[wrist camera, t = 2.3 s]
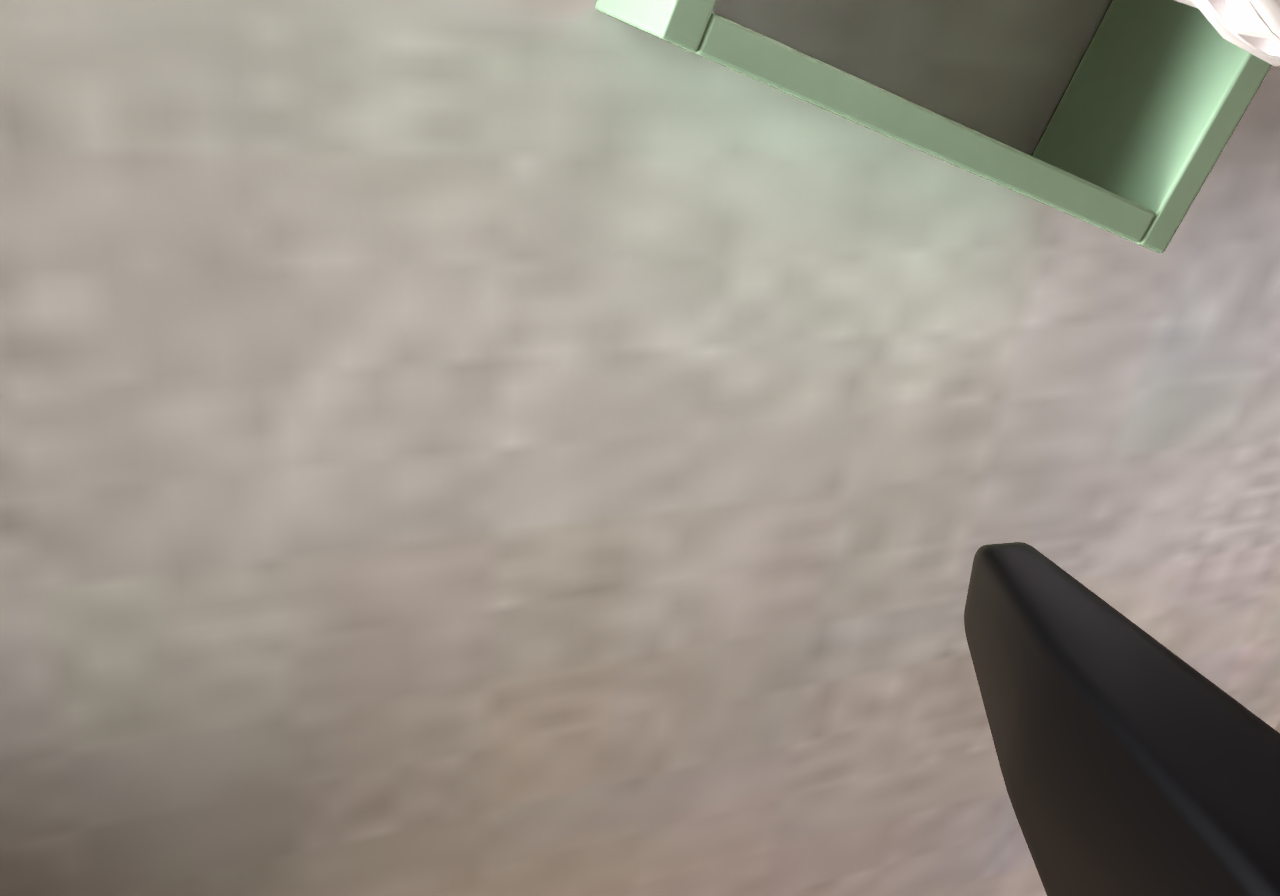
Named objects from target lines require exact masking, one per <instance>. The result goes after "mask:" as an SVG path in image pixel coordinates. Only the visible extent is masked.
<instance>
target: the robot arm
mask: <svg viewBox="0 0 1280 896" xmlns="http://www.w3.org/2000/svg"><path fill="white" fill-rule="evenodd" d="M964 624H965V632H966V638H967V642H968V646H969V649H970V653H971V657H972V661H973V665H974V668H975V672H976V676H977V680H978V684H979V687H980V691H981V695H982V699H983V703H984V707H985V710H986V714H987V718H988V722H989V726H990V729H991V733H992V737H993V741H994V745H995V748H996V752H997V756H998V760H999V764H1000V767H1001V771H1002V774H1003V778H1004V781H1005V785H1006V788H1007V792H1008V795H1009V797H1010V800H1011V803H1012V806H1013V809H1014V811H1015V814H1016V817H1017V819H1018V822H1019V825H1020V827H1021V830H1022V832H1023V835H1024V837H1025V840H1026V842H1027V845H1028V848H1029V850H1030V853H1031V855H1032V858H1033V860H1034V863H1035V865H1036V868H1037V870H1038V873H1039V876H1040V878H1041V881H1042V883H1043V886H1044V888H1045V891H1046V893H1047V896H1280V733H1278V732H1277V731H1276V730H1274V729H1273V728H1272V727H1270V726H1269V725H1268V724H1266V723H1265V722H1264V721H1262V720H1261V719H1260V718H1258V717H1257V716H1256V715H1254V714H1253V713H1252V712H1250V711H1249V710H1248V709H1246V708H1245V707H1244V706H1242V705H1241V704H1240V703H1238V702H1237V701H1236V700H1235V699H1233V698H1232V697H1231V696H1229V695H1228V694H1227V693H1225V692H1224V691H1223V690H1221V689H1220V688H1219V687H1217V686H1216V685H1215V684H1213V683H1212V682H1211V681H1209V680H1208V679H1207V678H1205V677H1204V676H1203V675H1201V674H1200V673H1199V672H1197V671H1196V670H1195V669H1194V668H1192V667H1191V666H1190V665H1188V664H1187V663H1186V662H1184V661H1183V660H1182V659H1180V658H1179V657H1178V656H1176V655H1175V654H1174V653H1172V652H1171V651H1170V650H1168V649H1167V648H1166V647H1164V646H1163V645H1162V644H1160V643H1159V642H1158V641H1156V640H1155V639H1154V638H1152V637H1151V636H1150V635H1149V634H1147V633H1146V632H1145V631H1143V630H1142V629H1141V628H1139V627H1138V626H1137V625H1135V624H1134V623H1133V622H1131V621H1130V620H1129V619H1127V618H1126V617H1125V616H1123V615H1122V614H1121V613H1119V612H1118V611H1117V610H1115V609H1114V608H1113V607H1111V606H1110V605H1109V604H1108V603H1106V602H1105V601H1104V600H1102V599H1101V598H1100V597H1098V596H1097V595H1096V594H1094V593H1093V592H1092V591H1090V590H1089V589H1088V588H1086V587H1085V586H1084V585H1082V584H1081V583H1080V582H1078V581H1077V580H1076V579H1074V578H1073V577H1072V576H1070V575H1069V574H1068V573H1067V572H1065V571H1064V570H1063V569H1061V568H1060V567H1059V566H1057V565H1056V564H1055V563H1053V562H1052V561H1051V560H1049V559H1048V558H1047V557H1045V556H1044V555H1043V554H1041V553H1040V552H1039V551H1037V550H1036V549H1035V548H1033V547H1032V546H1030V545H1028V544H1026V543H1021V542H1015V543H1003V544H991V545H985V546H982V547H980V548H979V549H978V551H977V552H976V554H975V557H974V561H973V567H972V572H971V578H970V583H969V589H968V594H967V600H966V605H965V612H964Z"/></svg>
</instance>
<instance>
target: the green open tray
mask: <svg viewBox="0 0 1280 896" xmlns="http://www.w3.org/2000/svg"><path fill="white" fill-rule="evenodd" d="M716 2H717V0H598V1H597V4H596V9H597V10H598V11H600V12H603V13H605V14H607V15H609V16H612V17H614V18H616V19H618V20H620V21H623V22H625V23H627V24H629V25H632V26H634V27H636V28H638V29H641V30H643V31H645V32H647V33H649V34H652V35H654V36H656V37H658V38H661V39H663V40H665V41H667V42H670V43H672V44H674V45H677V46H679V47H681V48H684V49H686V50H688V51H691V52H693V53H696V54H698V55H700V56H702V57H705V58H707V59H709V60H712V61H714V62H716V63H719V64H721V65H723V66H726V67H728V68H730V69H733V70H735V71H737V72H739V73H742V74H744V75H746V76H749V77H751V78H753V79H756V80H758V81H760V82H763V83H765V84H767V85H770V86H772V87H774V88H777V89H779V90H781V91H784V92H786V93H788V94H791V95H793V96H795V97H798V98H800V99H802V100H805V101H807V102H809V103H812V104H814V105H816V106H818V107H821V108H823V109H825V110H828V111H830V112H832V113H835V114H837V115H839V116H842V117H844V118H846V119H849V120H851V121H853V122H856V123H858V124H860V125H863V126H865V127H867V128H870V129H872V130H874V131H877V132H879V133H881V134H884V135H886V136H888V137H891V138H893V139H895V140H897V141H900V142H902V143H904V144H907V145H909V146H911V147H914V148H916V149H918V150H921V151H923V152H925V153H928V154H930V155H932V156H935V157H937V158H939V159H942V160H944V161H946V162H949V163H951V164H953V165H956V166H958V167H960V168H963V169H965V170H967V171H969V172H972V173H974V174H976V175H979V176H981V177H983V178H986V179H988V180H990V181H993V182H995V183H997V184H1000V185H1002V186H1004V187H1007V188H1009V189H1011V190H1014V191H1016V192H1018V193H1021V194H1023V195H1025V196H1028V197H1030V198H1032V199H1035V200H1037V201H1039V202H1042V203H1044V204H1046V205H1048V206H1051V207H1053V208H1055V209H1058V210H1060V211H1062V212H1065V213H1067V214H1069V215H1072V216H1074V217H1076V218H1079V219H1081V220H1083V221H1086V222H1088V223H1090V224H1093V225H1095V226H1097V227H1100V228H1102V229H1104V230H1107V231H1109V232H1111V233H1114V234H1116V235H1118V236H1120V237H1123V238H1125V239H1127V240H1130V241H1132V242H1134V243H1137V244H1139V245H1141V246H1144V247H1146V248H1148V249H1151V250H1153V251H1155V252H1158V253H1163V252H1164V251H1165V249H1166V248H1167V246H1168V244H1169V242H1170V241H1171V239H1172V237H1173V235H1174V234H1175V232H1176V230H1177V228H1178V227H1179V225H1180V223H1181V222H1182V220H1183V218H1184V216H1185V215H1186V213H1187V211H1188V209H1189V208H1190V206H1191V204H1192V202H1193V201H1194V199H1195V197H1196V196H1197V194H1198V192H1199V190H1200V189H1201V187H1202V185H1203V183H1204V182H1205V180H1206V178H1207V176H1208V175H1209V173H1210V171H1211V170H1212V168H1213V166H1214V164H1215V163H1216V161H1217V159H1218V157H1219V156H1220V154H1221V152H1222V150H1223V149H1224V147H1225V145H1226V144H1227V142H1228V140H1229V138H1230V137H1231V135H1232V133H1233V131H1234V130H1235V128H1236V126H1237V124H1238V123H1239V121H1240V119H1241V117H1242V116H1243V114H1244V112H1245V111H1246V109H1247V107H1248V105H1249V104H1250V102H1251V100H1252V98H1253V97H1254V95H1255V93H1256V91H1257V90H1258V88H1259V86H1260V85H1261V83H1262V81H1263V79H1264V78H1265V76H1266V74H1267V72H1268V71H1269V69H1270V67H1271V64H1269V63H1267V62H1265V61H1263V60H1261V59H1260V58H1258V57H1256V56H1254V55H1252V54H1251V53H1249V52H1247V51H1245V50H1243V49H1241V48H1240V47H1238V46H1236V45H1234V44H1232V43H1231V42H1229V41H1227V40H1225V39H1223V38H1222V36H1221V35H1220V34H1219V33H1218V32H1217V30H1216V29H1215V28H1214V27H1213V26H1212V24H1211V23H1210V22H1209V21H1208V20H1207V18H1206V17H1205V16H1204V15H1203V14H1202V12H1201V11H1200V10H1199V9H1198V8H1195V7H1192V6H1189V5H1186V4H1183V3H1180V2H1177V1H1174V0H1113V1H1112V2H1111V4H1110V6H1109V8H1108V10H1107V12H1106V14H1105V16H1104V18H1103V20H1102V22H1101V24H1100V26H1099V28H1098V30H1097V31H1096V33H1095V35H1094V37H1093V39H1092V41H1091V43H1090V45H1089V47H1088V49H1087V51H1086V53H1085V55H1084V57H1083V59H1082V60H1081V62H1080V64H1079V66H1078V68H1077V70H1076V72H1075V74H1074V76H1073V78H1072V80H1071V82H1070V84H1069V86H1068V88H1067V89H1066V91H1065V93H1064V95H1063V97H1062V99H1061V101H1060V103H1059V105H1058V107H1057V109H1056V111H1055V113H1054V115H1053V117H1052V118H1051V120H1050V122H1049V124H1048V126H1047V128H1046V130H1045V132H1044V134H1043V136H1042V138H1041V140H1040V142H1039V144H1038V146H1037V147H1036V149H1035V151H1034V153H1033V155H1032V156H1030V155H1028V154H1026V153H1024V152H1021V151H1019V150H1017V149H1015V148H1013V147H1010V146H1008V145H1006V144H1004V143H1002V142H999V141H997V140H995V139H993V138H990V137H988V136H986V135H984V134H982V133H979V132H977V131H975V130H973V129H971V128H968V127H966V126H964V125H962V124H959V123H957V122H955V121H953V120H951V119H948V118H946V117H944V116H942V115H939V114H937V113H935V112H933V111H931V110H928V109H926V108H924V107H922V106H920V105H917V104H915V103H913V102H911V101H908V100H906V99H904V98H902V97H900V96H897V95H895V94H893V93H891V92H888V91H886V90H884V89H882V88H880V87H877V86H875V85H873V84H871V83H869V82H866V81H864V80H862V79H860V78H857V77H855V76H853V75H851V74H849V73H846V72H844V71H842V70H840V69H837V68H835V67H833V66H831V65H829V64H826V63H824V62H822V61H820V60H818V59H815V58H813V57H811V56H809V55H806V54H804V53H802V52H800V51H798V50H795V49H793V48H791V47H789V46H786V45H784V44H782V43H780V42H778V41H775V40H773V39H771V38H769V37H767V36H764V35H762V34H760V33H758V32H755V31H753V30H751V29H749V28H747V27H744V26H742V25H740V24H738V23H736V22H733V21H731V20H729V19H727V18H724V17H722V16H720V15H718V14H715V13H712V12H713V9H714V7H715V4H716Z"/></svg>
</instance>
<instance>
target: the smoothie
mask: <svg viewBox="0 0 1280 896" xmlns="http://www.w3.org/2000/svg"><path fill="white" fill-rule="evenodd" d="M1174 1H1177V2H1180V3H1183V4H1186V5H1189V6H1192V7H1195V8H1198V9H1199V10H1200V11H1201V12H1202V14H1203V15H1204V16H1205V17H1206V18H1207V20H1208V21H1209V22H1210V23H1211V24H1212V26H1213V27H1214V28H1215V29H1216V30H1217V32H1218V33H1219V34H1220V35H1221V36H1222V38H1223V39H1225V40H1227V41H1229V42H1231V43H1232V44H1234V45H1236V46H1238V47H1240V48H1241V49H1243V50H1245V51H1247V52H1249V53H1251V54H1252V55H1254V56H1256V57H1258V58H1260V59H1261V60H1263V61H1265V62H1267V63H1269V64H1271V65H1273V66H1280V0H1174Z"/></svg>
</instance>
